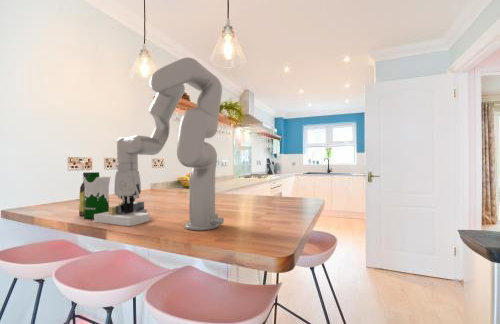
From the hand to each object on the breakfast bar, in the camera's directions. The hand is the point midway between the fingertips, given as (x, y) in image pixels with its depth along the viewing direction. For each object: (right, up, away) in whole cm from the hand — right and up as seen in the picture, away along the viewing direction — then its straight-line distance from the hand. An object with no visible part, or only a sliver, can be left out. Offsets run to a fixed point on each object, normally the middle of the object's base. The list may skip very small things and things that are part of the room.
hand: (128, 212), depth 99 cm
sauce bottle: (-27, -4, +16) cm, 32 cm away
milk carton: (-19, -4, +10) cm, 22 cm away
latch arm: (-2, 0, +5) cm, 6 cm away
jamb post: (0, -4, +9) cm, 10 cm away
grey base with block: (-3, -4, +1) cm, 5 cm away
